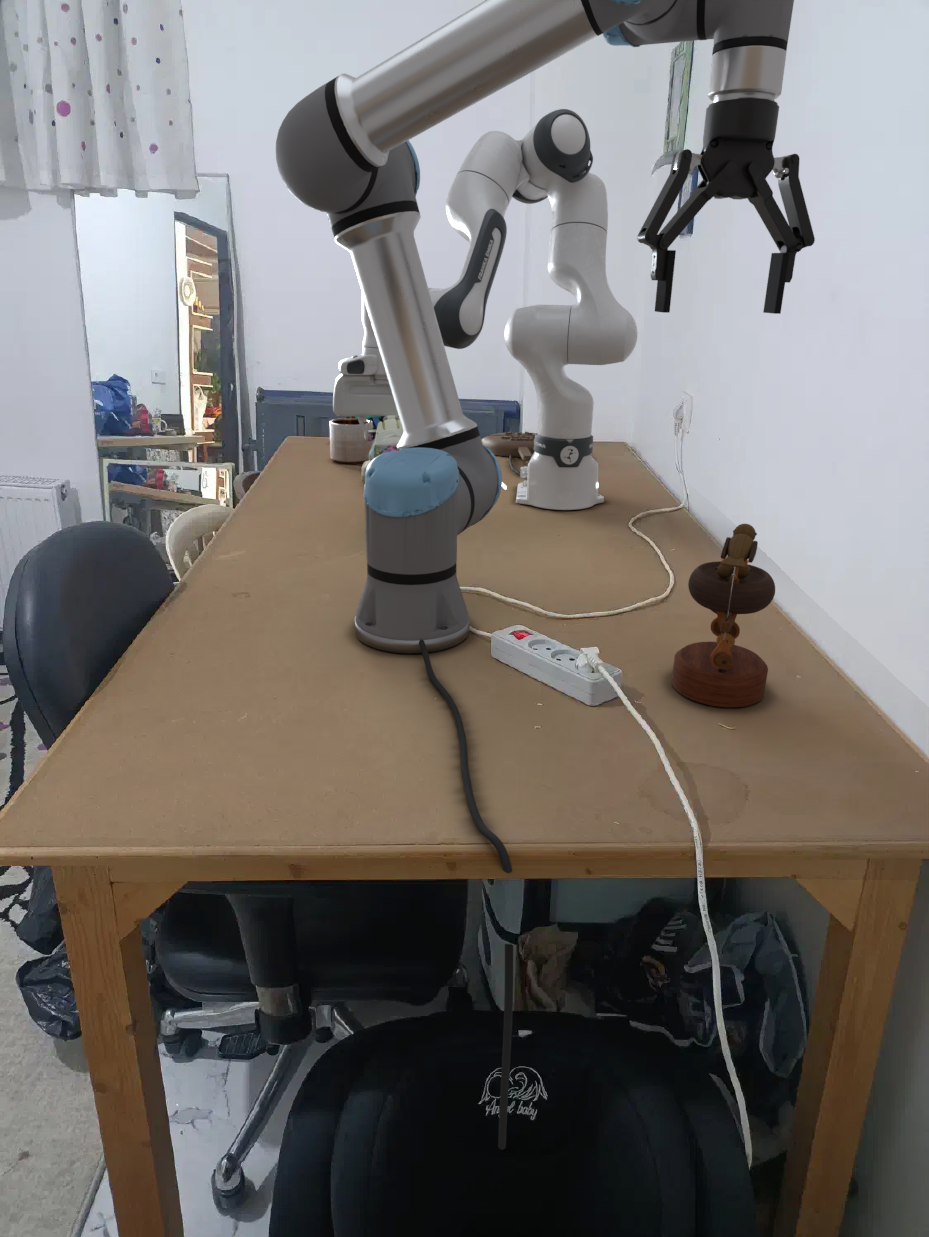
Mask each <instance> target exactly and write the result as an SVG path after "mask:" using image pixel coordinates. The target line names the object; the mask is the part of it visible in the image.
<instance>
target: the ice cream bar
mask: <svg viewBox="0 0 929 1237" xmlns="http://www.w3.org/2000/svg"><path fill="white" fill-rule="evenodd" d="M536 433H537V432H529V431H524V432H517V431H516V432H513V431H508V432H505V431H504V432H497V433H493V434H490V435H486V436H483V438H481V440H482V444H483V445H484V446H486V447H487V448H489V449H490V450H491V451H492V453H493V454H494V455H495V456H500V457H509V456H510V454H512V458H513V457H514V458H515V457H517V458H519V457H520V458H521V460H522V461H525V462H529V461H530V459H531V457H532V456H533V454H534V452H535V451H534V439H535V434H536Z"/></svg>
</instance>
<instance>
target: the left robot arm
mask: <svg viewBox="0 0 929 1237" xmlns="http://www.w3.org/2000/svg"><path fill="white" fill-rule="evenodd" d="M794 4H795V0H484V1H482V2H480V3H478V4H477V5H475V6H474V7H471V8H470V9H468V10H467V11H465V12H464V13H462V14H460V15H459V16H457V17H455V18H454V19H451V20H450V21H449V22H447V23H445V24H444V25H441V27H438V28H437V29H435V30H433V31H432V32H431V33H429V34H427V35H425V36H424V37H422V38H420V39H419V40H417V41H416V42H414V43H412V44H410V45H408V46H407V47H405V48H403V49H402V50H400V51H399V52H397V53H395V54H393V55H392V56H390V57H389V58H387V59H385V60H383V61H382V62H380V63H379V64H377V65H375V66H374V67H372V68H370V69H369V70H367V71H366V72H364V73H362V74H360V75H359V76H357V77H355V76H352V75H350V74H347V73H340V74H338V75H337V76H336V77H334V78H332V79H331V80H329V81H327V82H326V83H324V84H322V85H321V86H319V87H318V88H316V89H315V90H313V91H312V92H310V93H309V94H307V95H305V97H303V98H302V99H301V100H299V101H298V102H296V104H295V105H294V106H293V107H292V108H291V109H290V110H288V112H287V114H286V115H285V117H284V118H283V120H282V122H281V124H280V126H279V128H278V132H277V136H276V139H275V140H276V141H275V161H276V165H277V170H278V173H279V176H280V178H281V180H282V181H283V184H284V186H285V187H286V189H287V190H288V191H289V193H290V194H291V195H292V196H293V197H294V198H295V199H296V200H298V202H300V203H301V204H302V205H304V206H306V207H308V208H310V209H312V210H314V211H318V212H322V213H326V216H327V219H328V223H329V226H330V229H331V232H332V236H333V239H334V242H335V243H336V244H337V245H338V246H340V247H342V248H343V249H345V250H347V251H348V252H349V253H350V256H351V259H352V262H353V263H352V264H353V266H354V270H355V272H356V276H357V279H358V283H359V286H360V289H361V294H362V293H363V296H364V300H365V303H366V307H367V310H368V313H369V317H370V320H371V323H372V327H373V330H374V334H375V337H376V340H377V344H378V347H379V350H380V354H381V357H382V361H383V364H384V367H385V371H386V374H387V377H388V381H389V384H390V388H391V391H392V394H393V398H394V401H395V405H396V408H397V411H398V415H399V416H398V417H399V418H400V421H401V425H402V428H403V435H402V437H401V439H400V441H399V443H398V445H397V450H398V451H389V452H386V453H384V454H381V455H379V456H377V457H376V458H374V459H373V460H372V461H371V462H370V463H369V464H368V466H367V468H366V472H365V483H364V485H363V490H362V493H363V494H362V495H363V500H364V520H365V550H366V579H365V584H364V586H363V589H362V592H361V596H360V600H359V602H358V606H357V609H356V612H355V615H354V633H355V636H356V638H357V639H358V640H359V641H360V642H362V643H363V644H365V645H367V646H368V647H371V648H374V649H377V650H380V651H384V652H390V653H396V654H397V653H398V654H421V655H422V658H423V661H424V666H425V670H426V673H427V676H428V678H429V680H430V682H431V683H432V684H433V686H434V687H435V688H436V690H437V691H438V692H439V694H441V695H442V697H443V698H444V699H445V701H446V703H447V705H448V706H449V708H450V711H451V713H452V716H453V719H454V723H455V725H456V730H457V736H458V740H459V749H460V769H461V777H462V778H461V779H462V782H463V788H464V794H465V799H466V803H467V806H468V811H469V814H470V816H471V818H472V820H473V822H474V825H475V826H476V828H477V830H478V831H479V833H481V834H482V836H484V837H485V838H486V839H487V840H488V841H489V842H490V843H491V844H492V845H493V846H494V848H495V850H496V851H497V854H498V857H499V859H500V863H501V865H502V866H501V867H502V870H503V872H504V873H506V874H511V873H512V871H513V868H512V863H511V859H510V857H509V854H508V851H507V848H506V846H505V845H504V843H503V841H502V840H501V839H500V838H499V837H498V836H497V835H496V834H495V833H494V832H493V831H492V830H490V829H489V827H487V825H486V824H485V822H484V820H483V818H482V816H481V814H480V812H479V810H478V806H477V804H476V803H477V802H476V800H475V797H474V791H473V785H472V781H471V775H470V772H469V759H468V744H467V737H466V732H465V727H464V724H463V718H462V716H461V714H460V711H459V708H458V705H457V704H456V701H455V700H454V699H453V697H452V696H451V694H450V693H449V692H448V690H447V689H446V688H445V687H444V686H443V685H442V683H441V682H440V681H439V679H438V678H437V676H436V673H435V672H434V670H433V667H432V663H431V657H430V656H429V653H433V652H439V651H443V650H446V649H449V648H452V647H455V646H457V645H458V644H460V643H462V642H463V641H464V640H466V639H467V637H468V636H469V634H470V615H469V612H468V608H467V606H466V601H465V599H464V596H463V593H462V589H461V586H460V583H459V581H458V577H457V561H458V560H457V559H458V558H457V557H458V556H457V554H458V536H459V535H461V534H462V533H463V532H465V531H466V530H467V529H468V528H470V527H472V526H474V525H476V524H477V523H480V522H481V521H482V520H484V519H485V518H486V516H487V515H488V514H489V513H490V512H491V510H492V509H493V508H494V506H495V505H496V503H497V501H498V500H499V497H500V494H501V491H502V488H503V487H502V482H503V474H502V469H501V465H500V463H499V461H498V458H497V457H496V455H494V454H493V453H492V451H491V450H490V449H489V448H487V447H486V446H484V445H483V444H482V438H481V437H482V436H481V433H480V430H479V426H478V423H477V422H475V421H473V420H472V419H470V418H468V417H467V416H466V415H465V414H464V413H463V409H462V405H461V402H460V399H459V394H458V391H457V388H456V384H455V380H454V376H453V374H452V370H451V366H450V365H451V364H450V363H449V359H448V355H447V351H446V348H445V347H446V346H444V344H443V340H442V337H441V333H440V329H439V326H438V322H437V318H436V315H435V311H434V308H433V304H432V300H431V297H430V293H429V289H428V288H429V287H428V282H427V279H426V275H425V271H424V268H423V265H422V260H421V257H420V253H419V250H418V246H417V243H416V238H415V230H416V228H417V226H418V224H419V222H420V220H421V218H422V216H421V213H420V208H419V204H418V201H417V198H416V196H417V193H418V191H419V189H420V185H421V168H420V162H419V158H418V155H417V153H416V150H415V148H414V146H413V144H412V143H411V142H410V140H411V139H414V138H415V137H417V136H419V135H420V134H422V133H425V132H426V131H427V130H429V129H431V128H433V127H435V126H437V125H438V124H440V123H442V122H444V121H447V119H449V118H451V117H453V116H455V115H457V114H458V113H460V112H462V111H464V110H466V109H467V108H470V107H472V106H473V105H475V104H477V103H478V102H480V101H482V100H484V99H486V98H488V97H489V96H491V95H493V94H495V93H496V92H499V91H500V90H502V89H504V88H506V87H508V86H510V85H511V84H513V83H515V82H517V81H518V80H520V79H522V78H524V77H525V76H527V75H529V74H532V73H533V72H534V71H536V70H538V69H540V68H542V67H544V66H545V65H547V64H549V63H551V62H552V61H554V60H557V59H559V58H560V57H562V56H563V55H565V54H567V53H569V52H571V51H573V50H575V49H576V48H579V47H580V46H581V45H583V44H586V43H587V42H589V41H591V40H593V39H594V38H597V37H599V36H601V35H602V36H603V38H604V41H605V42H606V43H607V44H609V45H610V46H613V47H614V46H617V47H618V46H626V47H627V46H629V47H632V48H639V47H641V46H649V45H658V44H660V45H661V44H671V43H683V42H692V41H707V40H713V47H712V54H711V55H712V56H711V63H710V73H709V80H708V81H709V82H708V83H709V84H708V92H707V97H708V99H709V100H710V101H712V103H709V105H708V107H706V110H705V117H704V127H703V136H702V149H701V152H700V153H695V152H692V151H691V149H689V148H686V149H683V150H679V151H677V152H675V153H674V154H673V156H672V160H671V166H670V171H669V175H668V176H667V179H666V180H665V183H664V185H663V187H662V188H661V190H660V191H659V194H658V195H657V198H656V199H655V201H654V203H653V206H652V207H651V209H650V211H649V212H648V214H647V217H646V219H645V221H644V222H643V225H642V226H641V228H640V230H639V232H638V234H637V236H636V239H637V241H638V242H639V243H640V244H644V245H646V246H648V247H649V248H650V249H651V252H652V255H651V265H650V266H651V267H650V279H651V281H657V282H656V293H655V302H654V303H655V304H654V312H656V313H665V314H666V313H670V311H671V303H672V292H673V284H674V283H673V282H674V273H675V272H674V271H675V263H676V254H677V253H676V252H677V250H675V249H674V250H673V249H669V248H670V246H671V245H672V244H673V243H674V241H675V240H676V239H677V238H678V237H679V236H680V235H681V233H682V232H684V230H685V229H686V228H687V226H688V225H689V224H690V223H691V221H692V220H693V219H694V218H695V217H696V215H697V214H698V213H699V212H700V211H701V210H702V209H703V207H704V206H705V205H706V204H707V203H708V202H709V201H710V200H712V199H713V198H714V200H723V199H728V198H729V199H732V200H740V201H741V200H746V199H747V200H748V202H749V203H750V204H751V205H753V207H754V209H755V210H756V212H757V214H758V216H759V217H760V219H761V221H762V222H763V224H764V226H765V228H766V230H767V231H768V234H769V235H770V237H771V238H772V240H773V242H774V244H775V246H776V247H777V249H778V251H779V252H772V253H770V254H771V256H770V261H769V262H770V263H769V268H768V275H767V276H768V277H767V283H766V289H765V290H766V291H765V297H764V305H763V313H764V314H765V313H766V314H774V315H775V314H777V315H779V314H780V315H781V312H782V306H783V300H784V293H785V287H786V286H785V285H786V283H788V284H789V283H791V281H792V279H793V275H794V268H795V261H796V256H797V253H799V252H801V251H802V249H804V248H807V247H812V246H813V245H814V244H815V241H816V238H815V234H814V231H813V226H812V222H811V219H810V215H809V212H808V207H807V203H806V200H805V196H804V192H803V189H802V184H801V181H800V176H799V175H800V156H799V154H798V153H792V154H788V155H783V156H779V157H777V156H776V157H775V155H774V154H773V146H774V142H775V139H776V135H777V134H776V133H777V127H778V119H779V112H780V106H779V105H778V102H776V101H775V100H777V99H779V97H780V96H781V95H782V92H783V91H782V90H783V82H784V74H785V66H786V60H787V50H788V43H789V37H790V31H791V22H792V16H793V10H794ZM695 168H697V170H698V172H699V174H700V176H701V178H702V180H701V181H700V182H699V183H698V185H697V186H696V187H695V189H694V190H693V191H692V192H691V194H690V196H689V197H688V199H686V201H685V202H684V203H683V204H682V206H681V207H680V208H679V209H678V210H677V212H675V214H674V215H673V216H672V217H671V219H670V220H669V221H667V223H666V224H665V226H664V227H663V228H662V226H663V224H664V223H665V221H666V219H667V217H668V215H669V213H670V211H671V209H672V208H673V205H674V203H675V202H676V200H677V198H678V196H679V194H680V193H681V190H682V189H683V187H684V186H685V183H686V181H687V178H688V176H689V175H690V174H692V173H693V172H694V170H695ZM772 171H773V175H774V177H775V178H776V179H777V183H778V184H777V185H778V190H779V193H780V197H781V200H782V204H783V208H784V211H785V215H784V214H783V212H782V210H781V208H780V206H779V205H778V203H777V202H776V200H775V198H774V196H773V195H774V192H773V190H772V187H771V186H770V184H769V183H768V181H767V178H768V176H769V175H770V173H772ZM785 216H786V218H787V219H786V218H785ZM661 228H662V230H661ZM503 1000H504V1004H503V1006H504V1007H503V1010H504V1011H503V1032H502V1033H503V1035H502V1054H501V1055H502V1056H501V1072H500V1074H501V1075H500V1089H499V1090H500V1092H499V1109H498V1110H499V1113H498V1134H497V1135H498V1137H497V1138H498V1141H497V1147H498V1149H499V1150H505V1149H506V1146H507V1127H508V1126H507V1124H508V1105H509V1104H508V1103H509V1102H508V1101H509V1087H510V1073H511V1072H510V1071H511V1056H512V1055H511V1052H512V1036H513V1034H512V1033H513V1013H514V1012H513V1009H514V1008H513V1006H514V1005H513V1004H514V944H511V943H504V999H503Z"/></svg>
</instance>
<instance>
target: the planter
mask: <svg viewBox="0 0 929 1237" xmlns="http://www.w3.org/2000/svg"><path fill="white" fill-rule="evenodd" d="M328 424H329V425H328V426H329V441H330V442H329V453H330V454H329V455H330V456H329V457H330V459H331V460H332V461H333V462H335V463H341V464H363V463H364V462H366V461H369V452H370V450H371V447H372V442H373V441H365V432H364V430H363V428H362V427H361V425H360V423H359V421H358V418H346V417H342V418H341V417H340V418H335V419H334V418H333V419H331V420H329V421H328ZM364 424H365V426H366V427H367V429H368V430H372V431H373V426H374V425H373V423H372V421H371V420H368V419H366V422H364Z"/></svg>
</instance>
